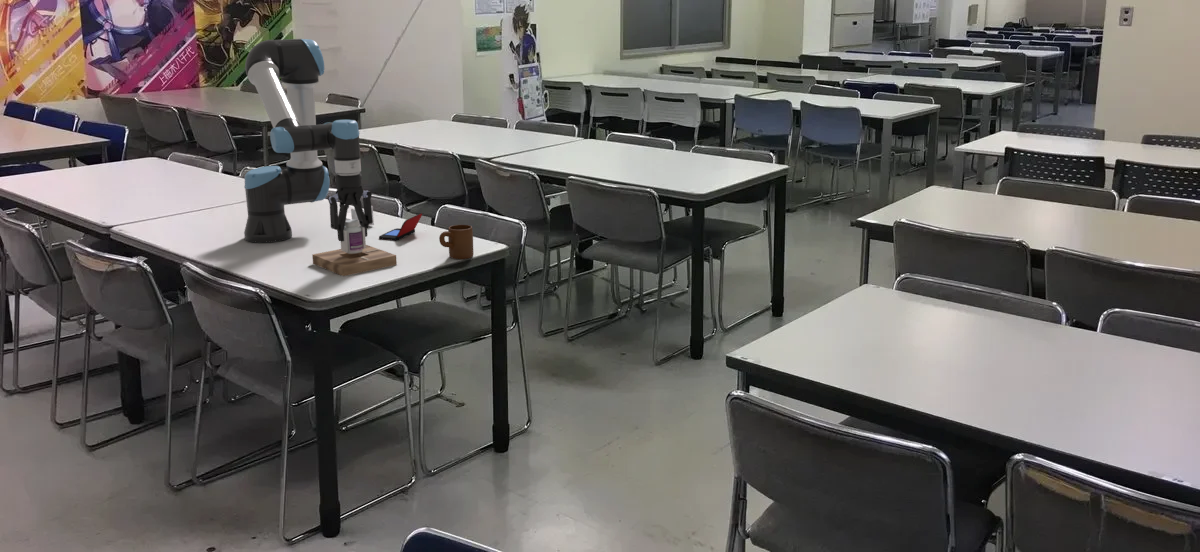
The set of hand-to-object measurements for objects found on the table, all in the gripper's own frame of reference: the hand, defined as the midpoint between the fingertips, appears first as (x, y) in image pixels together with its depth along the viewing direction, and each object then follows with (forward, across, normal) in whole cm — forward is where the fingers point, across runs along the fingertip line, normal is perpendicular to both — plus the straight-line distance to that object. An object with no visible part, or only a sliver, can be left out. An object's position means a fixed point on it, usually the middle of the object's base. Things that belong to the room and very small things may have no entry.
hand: (353, 249), depth 291 cm
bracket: (+5, +26, +45) cm, 52 cm away
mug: (+5, +27, -15) cm, 31 cm away
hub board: (+5, 0, 0) cm, 5 cm away
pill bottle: (+1, 0, 0) cm, 1 cm away
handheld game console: (+5, +30, +20) cm, 36 cm away
